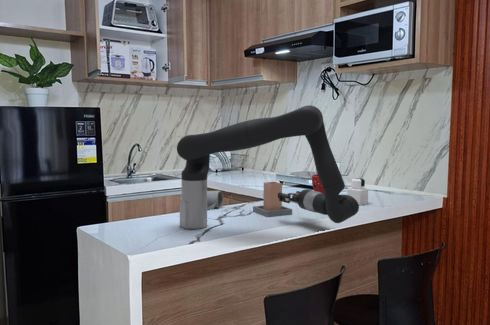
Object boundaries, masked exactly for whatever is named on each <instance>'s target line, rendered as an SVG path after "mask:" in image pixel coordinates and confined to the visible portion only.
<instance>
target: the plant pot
mask: <svg viewBox="0 0 490 325" xmlns="http://www.w3.org/2000/svg"><path fill="white" fill-rule="evenodd" d="M311 183H312V190H313V191H317V192H320V193H323V194H324V189H323V187H322V184H321V182H320V179H319V176H318V174H316V173H315V174H312V175H311Z"/></svg>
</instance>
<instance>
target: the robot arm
mask: <svg viewBox="0 0 490 325" xmlns="http://www.w3.org/2000/svg"><path fill="white" fill-rule="evenodd" d="M324 122H325V121H324V115H323V113H322V111H321V110H320V108H318V107H316V106H315V105H310V104H309V105H308V104H307V105H304V106H301V107H298V108H297V109H295V110H292V111H290V112H285V113H284V114H281V115H277V116H273V117H262V118H261V117H260V118H253V119H248V120H245V121H241V122H237V123H234V124H230V125H227V126H224V127H221V128H219V129H217V130H214V131H210V132H203V133H199V134H198V133H197V134H187V135H185V136H183V137H182V138H181V139H180V140H179V141H178V143H177V145H176V153H177V154H178V156H179V157H180V158H181V159H183V160H184V161H186V162H185V167H184V169H183V170H182V171H181V175H180V176H181V178H180V179H181V199H179V226H180V227H181V228H183V229H184V230H185V229H186V230H187V229H188V230H189V229H190V230H191V229H192V230H194V229H195V230H197V229H204V228H206V227H208V210H207V191H208V174H209V171H210V162H211V161H210V160H211V159H210V158H211V157H210V156H211V155H212V154H216V153H227V152H235V151H242V150H247V149H252V148H256V147H259V146H263V145H265V144H269V143H272V142H275V141H276V140H281V139H287V138H293V137H300V136H301V137H302V136H305V138H306V141H307V142H308V145H309V147H310V149H311V153H312V157H313V162H314V164H315V169H316V170H315V171H316V173H317V174H318V176H319V179H320V182H321V184H322V187H323V189H324V194H323V193H320V192H317V191H314V189H306V188H304V189H302V190H301V191H298V190H297V191H295V192H288V193H283V192H282V193H278V198H279V201H282V203H286V204H290V203H295V204H297V205H298V206H299V208H300V209H302V210H305V211H308V212H312V213H317V214H320V215H323V216H324V215H326V216H327V217H328V219H329V220H330V221H331V222H333V223H334V224H341V223H343V222H345V221H347V220H348V219H351V218H352V217H354V216H355V215H357V214H358V212H359V209H360V205H359V204H358V202H357V201H356V199H355V198H353V197H351V196H349V195H347V194H340V193H341V192H342V191H344V189H345V188H346V184H345V180H344V179H343V177H342V174H341V173H342V172H341V171H340V168H339V166H338V163H337V161H336V159H335V156H334V154H333V152H332V149H331V146H330V143H329V139H328V136H327V132H326V128H325V123H324Z"/></svg>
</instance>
